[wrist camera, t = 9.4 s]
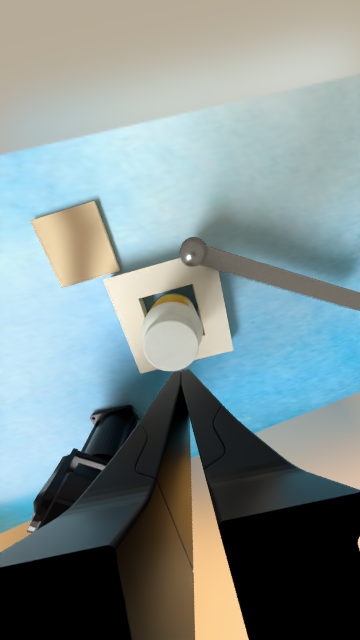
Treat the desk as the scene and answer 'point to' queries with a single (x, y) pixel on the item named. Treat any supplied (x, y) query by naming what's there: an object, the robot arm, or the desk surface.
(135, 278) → the socket housing
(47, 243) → the coaster
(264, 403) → the desk surface
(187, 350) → the supplement bottle
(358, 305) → the latch arm
